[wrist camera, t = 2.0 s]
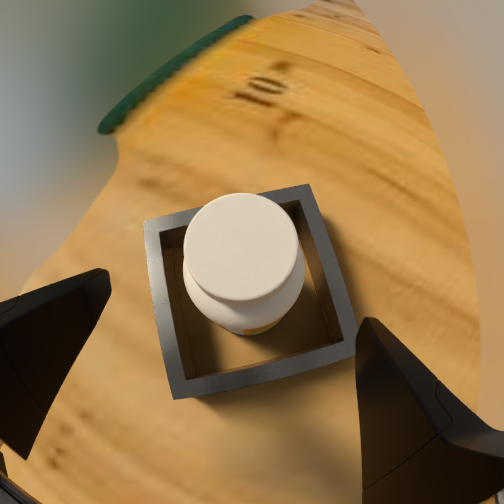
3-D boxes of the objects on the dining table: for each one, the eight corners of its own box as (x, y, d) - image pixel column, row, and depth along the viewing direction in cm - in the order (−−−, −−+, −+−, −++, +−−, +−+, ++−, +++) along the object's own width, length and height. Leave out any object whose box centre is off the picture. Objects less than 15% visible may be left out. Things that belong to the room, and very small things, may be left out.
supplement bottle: (295, 265, 19) (328, 190, 10) (279, 343, 18) (306, 338, 9) (218, 249, 20) (189, 165, 11) (198, 325, 18) (144, 300, 9)
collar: (348, 351, 17) (364, 351, 15) (185, 392, 17) (173, 399, 14) (302, 205, 21) (308, 183, 18) (156, 239, 20) (142, 221, 17)
